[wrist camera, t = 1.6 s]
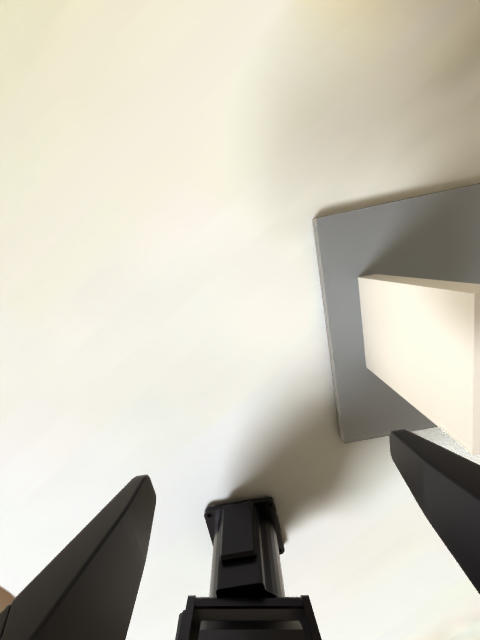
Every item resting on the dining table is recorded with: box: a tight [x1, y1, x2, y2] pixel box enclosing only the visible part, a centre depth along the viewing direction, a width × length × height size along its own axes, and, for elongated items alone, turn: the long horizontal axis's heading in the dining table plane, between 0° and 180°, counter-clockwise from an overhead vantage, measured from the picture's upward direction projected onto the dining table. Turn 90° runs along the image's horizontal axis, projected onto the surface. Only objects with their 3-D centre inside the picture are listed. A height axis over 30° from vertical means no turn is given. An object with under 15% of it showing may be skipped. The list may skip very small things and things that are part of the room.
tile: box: [358, 274, 480, 455], centre depth 14 cm, size 7×1×9 cm, turn 12°
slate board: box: [313, 183, 480, 443], centre depth 19 cm, size 18×16×1 cm
